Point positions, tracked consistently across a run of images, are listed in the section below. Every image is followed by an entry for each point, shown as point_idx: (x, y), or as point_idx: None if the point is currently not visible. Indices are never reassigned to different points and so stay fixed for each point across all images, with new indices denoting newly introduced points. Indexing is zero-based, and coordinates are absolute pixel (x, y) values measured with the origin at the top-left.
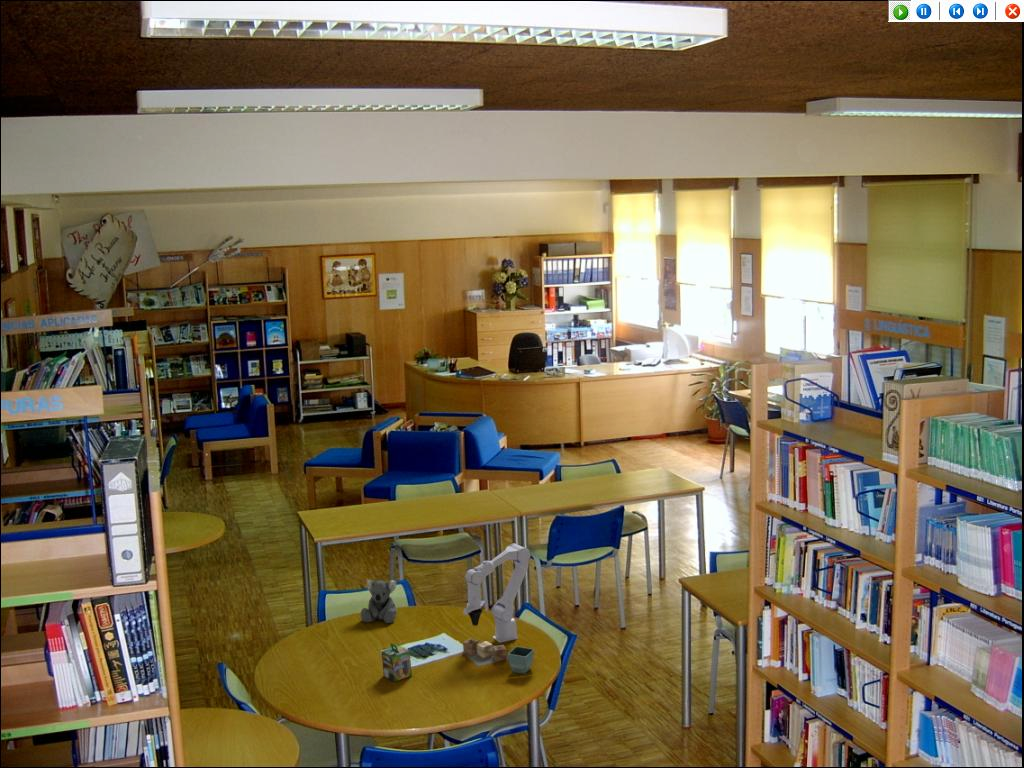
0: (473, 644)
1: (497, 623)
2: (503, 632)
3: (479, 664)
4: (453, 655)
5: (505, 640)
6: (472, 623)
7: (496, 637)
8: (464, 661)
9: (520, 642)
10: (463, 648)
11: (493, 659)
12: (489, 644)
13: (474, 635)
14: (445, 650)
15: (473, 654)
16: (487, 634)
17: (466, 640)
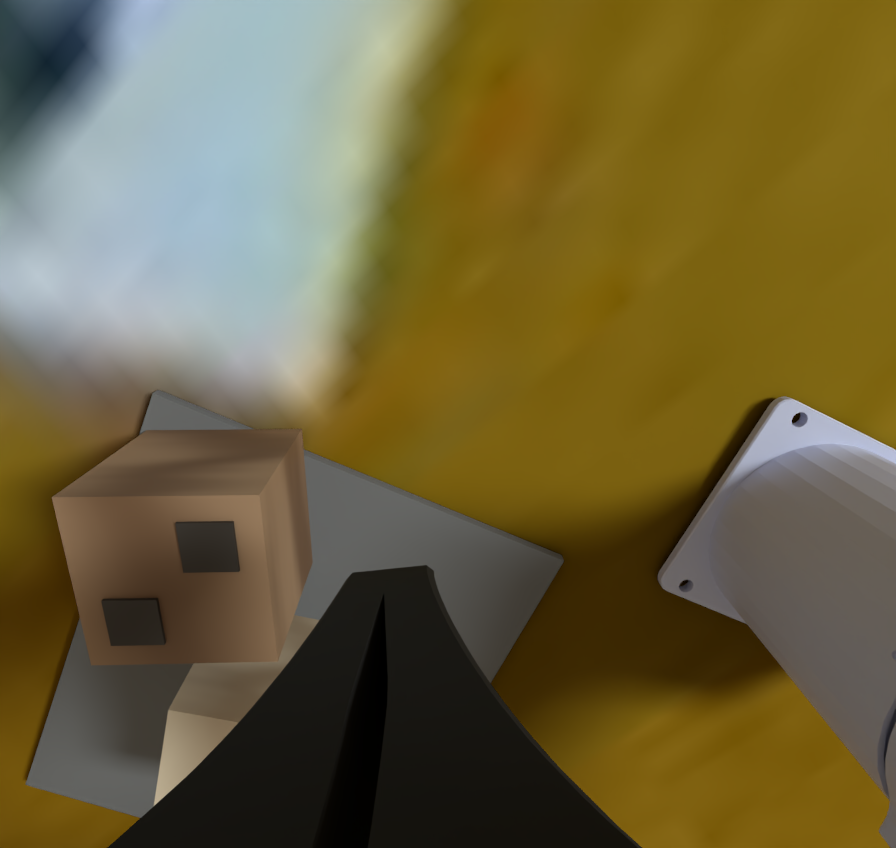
0: (151, 651)
1: (874, 716)
2: (788, 674)
3: (63, 770)
4: (9, 356)
5: (736, 611)
6: (337, 606)
7: (736, 515)
8: (7, 586)
9: (781, 724)
10: (116, 453)
11: None
12: None
13: (738, 102)
14: (25, 117)
15: None
16: (849, 257)
17: (140, 503)
